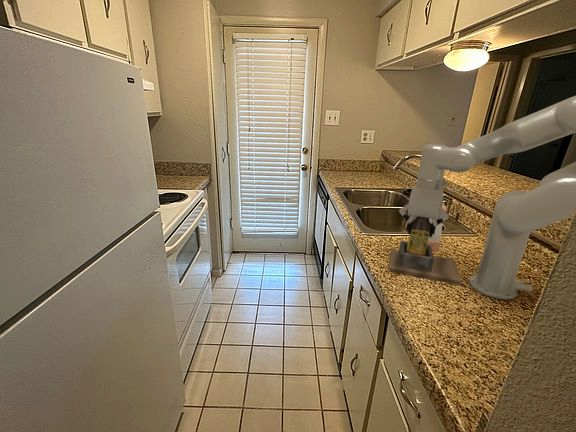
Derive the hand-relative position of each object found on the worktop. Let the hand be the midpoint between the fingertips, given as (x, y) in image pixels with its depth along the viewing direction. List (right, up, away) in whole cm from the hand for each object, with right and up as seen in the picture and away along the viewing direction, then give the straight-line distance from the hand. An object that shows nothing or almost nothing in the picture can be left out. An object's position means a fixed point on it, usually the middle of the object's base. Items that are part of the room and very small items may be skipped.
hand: (419, 233), depth 101 cm
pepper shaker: (+13, -7, +20) cm, 25 cm away
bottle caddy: (+2, -12, +3) cm, 13 cm away
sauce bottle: (0, -9, +3) cm, 10 cm away
